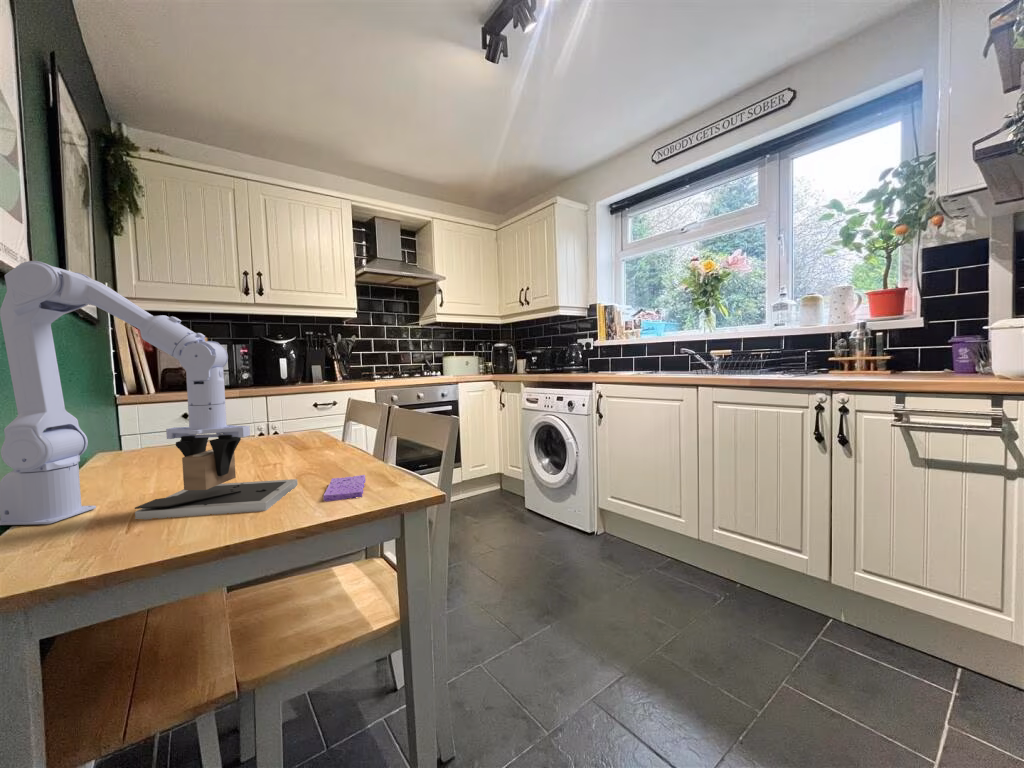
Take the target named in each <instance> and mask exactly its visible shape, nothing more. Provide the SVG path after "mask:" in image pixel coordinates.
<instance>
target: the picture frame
mask: <svg viewBox="0 0 1024 768" xmlns="http://www.w3.org/2000/svg"><path fill="white" fill-rule="evenodd" d="M297 485H298V479H297V478H292V479H276V480H275V479H274V480H260V481H259V480H258V481H246V482H245V481H243V482H231V483H230V482H228V483H227V482H224V483H221V484H219V485H217V486H214V487H212V488H209V489H207V490H184V488H183V489H182V490H179V491H177V492H175V493H173V494H170V495H168V496H166V497H162V498H155V499H153V500H150V501H148V502H145V503H142V504H140V505H137V506H135V507H134V510H136V511H134V516H135V519H144V520H153V519H152V518H158V519H169V518H171V517H172V518H185V516H186V517H198V516H212V515H213V514H214V515H226V514H227V513H229V514H240V513H253V512H266V511H267V510H269V509H270V508H271V507H273V506H274V505H275V504H276V503H278V502H279V501H280V500H282V499H283V498H284V497H286V496H287V495H288V494H289V493H290V492H292V491H293V490H294V489H295V488H296V486H297ZM297 487H298V486H297ZM292 489H293V490H292ZM291 490H292V491H291ZM288 492H289V493H288ZM287 493H288V494H287ZM286 494H287V495H286ZM283 496H284V497H283ZM282 497H283V498H282ZM277 501H278V502H277ZM137 509H138V510H137ZM210 514H212V515H210ZM167 517H168V518H167ZM172 518H171V519H172ZM135 519H134V520H135Z"/></svg>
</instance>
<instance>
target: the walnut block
mask: <svg viewBox="0 0 1024 768" xmlns="http://www.w3.org/2000/svg"><path fill="white" fill-rule="evenodd" d="M181 459H182V460H181V461H182V479H183V480H182V481H183V489H184V490H207V489H209V488H212V487H214V486H217V485H219V484H224V483H227V482H228V481H231V480H234V479H236V463H235V462H236V459H235V452H234V453H233V456H232V459H231V463H230V467H229V472H228V474H225V475H222V476H218V475H217V471H216V462H215V456H214V452H213V449H212V448H211V449H208V450H206V451H204V452H200V453H197V454H193V455H190V456H186V457H185V456H183V457H181Z"/></svg>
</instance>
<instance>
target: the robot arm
mask: <svg viewBox="0 0 1024 768" xmlns="http://www.w3.org/2000/svg"><path fill="white" fill-rule="evenodd" d="M4 281H5V285H6V286H5V287H6V292H5V295H4V298H3V301H2V303H1V306H0V323H1V327H2V328H1V329H2V333H3V339H4V344H5V350H6V355H7V361H8V366H9V368H8V369H9V372H10V377H11V378H10V379H11V382H12V389H13V394H14V398H15V399H14V400H15V405H16V409H17V410H16V411H17V416H16V417H15V418H14V419H13V420H12V421H11V422H9V424H7V425H6V426H5V428H4V429H3V432H4V440H3V443H2V445H1V449H0V456H1V460H2V461H3V463H4V464H5V465H6V466H8V467H9V468H11V469H13V470H12V471H9V472H8V473H6V474H5V475H4V476H3V477H2V478H1V479H0V526H15V525H16V526H20V525H21V526H22V525H23V526H24V525H25V526H26V525H27V526H29V525H50V524H54V523H56V522H60V521H62V520H66V519H68V518H71V517H74V516H77V515H80V514H83V513H86V512H88V511H91V510H95V509H96V508H97V506H96V505H82V496H81V483H80V468H79V462H81V459H80V456H81V455H83V454H84V453H85V451H87V449H88V446H89V444H88V443H89V441H88V437H87V435H86V433H84V431H83V430H82V428H81V427H80V424H79V420H78V418H77V417H75V416H74V415H73V414H72V413H70V412H68V411H67V410H66V407H65V406H66V405H65V400H64V394H63V389H62V383H61V377H60V370H59V365H58V364H59V363H58V359H57V354H56V347H55V342H54V337H53V336H54V335H53V331H52V324H53V323H54V322H55V321H57V320H58V319H59V318H61V317H62V316H63V315H66V314H68V313H72V312H74V311H77V310H79V309H82V308H84V307H87V306H94V307H96V308H98V309H100V310H103V311H104V312H106V313H108V314H110V315H112V316H114V317H115V318H117V319H119V320H121V321H123V322H125V323H127V324H129V325H130V326H133V327H134V328H137V329H138V331H139V332H140V336H141V339H142V340H143V341H145V342H146V343H149V345H151V346H153V347H155V348H157V350H160V351H162V352H164V353H165V354H168V356H170V357H172V358H174V359H175V360H177V361H178V362H179V364H180V366H181V367H182V368H183V369H184V370H185V373H186V376H185V377H186V391H187V392H186V393H187V394H186V395H187V396H186V397H187V411H188V412H187V413H188V424H189V425H188V426H180V427H170V428H169V427H168V428H166V429H165V431H166V440H172V439H180V440H179V441H176V442H175V447H176V448H178V450H179V451H180V452H181V454H182V455H183V457H186V456H190V455H193V454H197V453H200V452H204V451H207V446H208V445H207V444H208V441H209V444H210V446H211V449H213V452H214V456H215V462H216V471H217V475H218V476H222V475H225V474H228V472H229V467H230V463H231V459H232V456H233V453H234V454H235V451H236V450H237V447H238V445H239V444H240V442H241V438H245V437H249V436H250V435H251V428H250V427H251V426H250V425H232V424H230V425H229V424H227V411H226V410H227V409H226V408H227V407H226V393H225V392H226V390H225V389H226V388H225V379H224V378H225V376H224V367H225V366H226V365H227V364H228V359H229V355H228V352H227V350H226V348H224V347H223V345H221V344H220V343H219V342H218V341H213V340H207V341H206V339H205V338H206V335H204V334H203V333H201V332H194V331H193V330H191V329H190V328H188V327H186V325H185V326H184V325H183V324H182V323H181V322H182V320H181V319H179V318H178V317H176V316H173V315H172V316H167V315H163V314H162V315H161V314H160V315H153V314H151V313H149V312H148V311H146V310H145V309H143V308H141V306H139V305H137V304H136V303H134V302H132V301H131V300H129V299H128V298H126V297H125V296H123V295H121V294H120V293H119V292H117V291H115V290H114V289H112V288H111V287H110V286H108V285H106V284H104V283H102V282H100V281H99V280H95V279H92V278H91V277H89V276H88V275H86V274H84V273H80V272H73V271H71V270H67V269H63V268H60V267H56V266H54V265H53V266H52V265H50V264H48V263H45V262H43V261H38V260H27V261H25V262H22V263H20V264H18V265H17V266H15V267H14V268H13V269H11V270H9V271H8V272H7V273H6V274H4ZM209 438H215V439H211V440H209Z"/></svg>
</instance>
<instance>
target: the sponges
mask: <svg viewBox="0 0 1024 768" xmlns="http://www.w3.org/2000/svg"><path fill="white" fill-rule="evenodd" d="M364 483H365V484H366V475H365V474H361V475H354V476H345V477H335V478H331V480H330V482H329V484H328V486H327V488H326V490H325V492H324V494H323V501H324V502H333V501H340V500H341V501H343V500H348V499H347V498H352V499H357V498H356V497H361V498H363V495H364V490H363V488H364V489H365V485H364ZM362 494H363V495H362ZM342 499H343V500H342Z"/></svg>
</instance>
